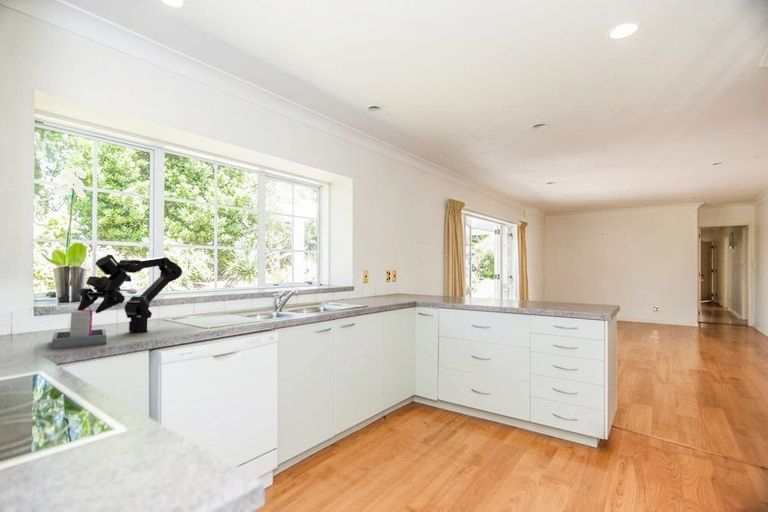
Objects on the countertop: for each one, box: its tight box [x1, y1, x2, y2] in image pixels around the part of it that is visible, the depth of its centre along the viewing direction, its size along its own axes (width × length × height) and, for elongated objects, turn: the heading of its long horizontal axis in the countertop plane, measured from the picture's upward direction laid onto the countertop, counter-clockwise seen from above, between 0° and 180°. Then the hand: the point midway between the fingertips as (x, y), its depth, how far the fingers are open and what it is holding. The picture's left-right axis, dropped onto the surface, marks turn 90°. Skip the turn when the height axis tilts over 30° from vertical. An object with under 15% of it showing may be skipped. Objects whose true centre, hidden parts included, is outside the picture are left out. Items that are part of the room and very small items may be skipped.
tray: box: [51, 328, 108, 350], centre depth 154 cm, size 16×16×4 cm
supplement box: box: [69, 309, 93, 337], centre depth 154 cm, size 6×6×12 cm
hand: (87, 312), depth 156 cm, fingers open, 9 cm apart
